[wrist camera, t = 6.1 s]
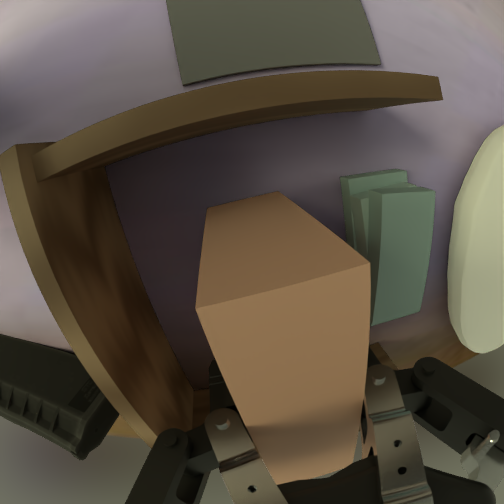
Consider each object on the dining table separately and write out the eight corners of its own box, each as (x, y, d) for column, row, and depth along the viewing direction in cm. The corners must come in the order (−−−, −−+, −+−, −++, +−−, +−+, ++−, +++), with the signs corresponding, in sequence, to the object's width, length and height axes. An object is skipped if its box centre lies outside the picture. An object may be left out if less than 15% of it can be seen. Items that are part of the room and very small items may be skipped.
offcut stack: (335, 176, 19) (370, 186, 14) (397, 168, 19) (437, 176, 14) (346, 308, 23) (370, 342, 18) (397, 291, 23) (427, 319, 18)
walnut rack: (84, 147, 15) (-3, 156, 7) (361, 87, 16) (448, 62, 8) (188, 403, 24) (185, 480, 16) (376, 354, 25) (419, 417, 17)
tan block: (207, 208, 15) (194, 308, 6) (278, 191, 15) (370, 262, 6) (252, 365, 20) (277, 486, 10) (304, 352, 20) (351, 465, 10)
